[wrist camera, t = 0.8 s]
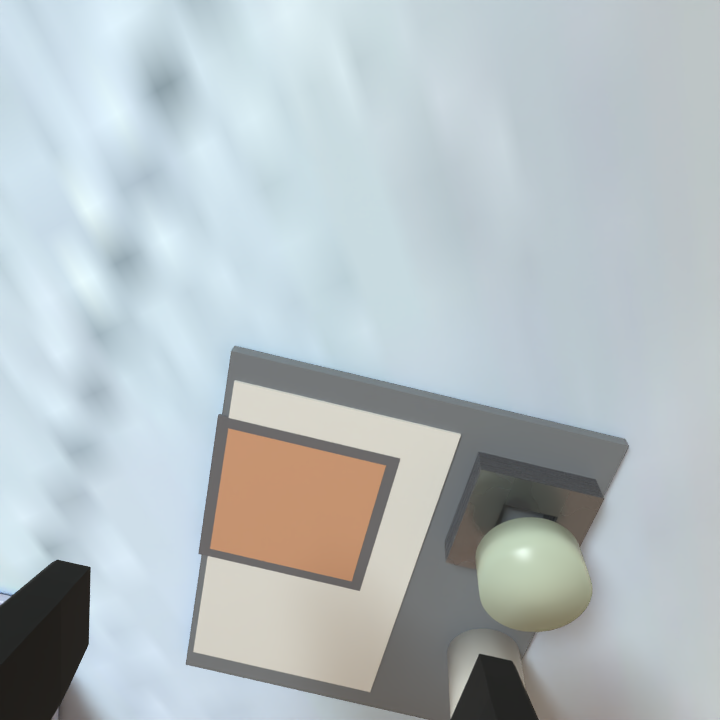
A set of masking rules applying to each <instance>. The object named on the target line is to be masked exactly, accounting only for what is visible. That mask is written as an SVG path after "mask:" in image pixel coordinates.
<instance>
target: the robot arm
mask: <svg viewBox="0 0 720 720" xmlns="http://www.w3.org/2000/svg"><path fill="white" fill-rule="evenodd" d="M89 607H90V567H88V566H83V565H79V564H74V563H70V562H65V561H61V560H56V561H54V562H52V563H51V564H50V565H48V566H47V567H46V568H45V569H44V570H42V571H41V572H40V573H39V574H38V575H36V576H35V577H34V578H33V579H32V580H30V581H29V582H28V583H27V584H26V585H24V586H23V587H22V588H21V589H20V590H18V591H17V592H16V593H15V594H13V595H12V596H8V595H4V594H0V720H58V709H59V705H60V704H61V702H62V700H63V698H64V696H65V694H66V692H67V689H68V687H69V685H70V683H71V681H72V679H73V677H74V675H75V673H76V671H77V668H78V666H79V664H80V662H81V660H82V657H83V655H84V653H85V651H86V649H87V647H88V644H89ZM450 720H539V719H538V717H537V715H536V713H535V710H534V708H533V706H532V704H531V701H530V699H529V697H528V694H527V692H526V690H525V687H524V685H523V683H522V680H521V678H520V676H519V673H518V671H517V669H516V666H515V665H514V663H513V662H512V661H511V660H506V659H502V658H497V657H493V656H488V655H484V654H479V655H478V658H477V660H476V662H475V665H474V667H473V669H472V671H471V674H470V676H469V678H468V681H467V683H466V685H465V687H464V690H463V692H462V694H461V697H460V699H459V701H458V703H457V706H456V708H455V710H454V713H453V715H452V717H451V719H450Z"/></svg>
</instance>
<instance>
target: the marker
mask: <svg viewBox="0 0 720 720" xmlns="http://www.w3.org/2000/svg"><path fill="white" fill-rule="evenodd" d="M479 654H484V655H488V656H493V657H497V658H502V659H506V660H511V661H512V662H513V663H514V665H515V666H516V669H517V671H518V673H519V676H520V678H521V680H522V683H523V685H524V687H525V681H524V675H523V670H522V664H521V658H520V652H519V648H518V646H517V644H516V643H515V641H514V640H513V639H512V638H511V637H509V636H508V635H506V634H504V633H502V632H500V631H496V630H492V629H473V630H469V631H466V632H464V633H461V634H460V635H458V636H457V637H455V638H454V639H453V640H452V641H451V643H450V645H449V647H448V650H447V659H448V678H449V698H450V717H452V715H453V713H454V710H455V708H456V706H457V703H458V701H459V699H460V697H461V694H462V692H463V690H464V687H465V685H466V683H467V681H468V678H469V676H470V674H471V671H472V669H473V667H474V665H475V662H476V660H477V658H478V655H479ZM525 690H526V687H525Z"/></svg>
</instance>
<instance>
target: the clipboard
mask: <svg viewBox="0 0 720 720" xmlns="http://www.w3.org/2000/svg"><path fill="white" fill-rule="evenodd" d="M628 447H629V445H628V443H627V441H626V440H625V439H623V438H618V437H614V436H610V435H606V434H602V433H598V432H593V431H589V430H585V429H581V428H577V427H572V426H568V425H564V424H560V423H556V422H551V421H547V420H543V419H539V418H535V417H531V416H526V415H522V414H518V413H514V412H510V411H505V410H501V409H497V408H493V407H489V406H484V405H480V404H476V403H472V402H468V401H464V400H459V399H455V398H451V397H447V396H443V395H438V394H434V393H430V392H426V391H422V390H418V389H413V388H409V387H405V386H401V385H397V384H392V383H388V382H384V381H380V380H376V379H371V378H367V377H363V376H359V375H355V374H351V373H346V372H342V371H338V370H334V369H330V368H325V367H321V366H317V365H313V364H309V363H304V362H300V361H296V360H292V359H288V358H284V357H279V356H275V355H271V354H267V353H263V352H258V351H254V350H250V349H246V348H242V347H238V346H234V348H233V349H232V351H231V357H230V364H229V370H228V377H227V384H226V391H225V398H224V405H223V412H222V414H219V415H218V420H217V427H216V435H215V442H214V449H213V456H212V463H211V470H210V477H209V484H208V491H207V498H206V505H205V512H204V519H203V526H202V533H201V540H200V547H199V554H202V556H201V563H200V570H199V577H198V584H197V591H196V598H195V605H194V611H193V618H192V625H191V632H190V639H189V646H188V653H187V660H186V665H190V666H195V667H199V668H204V669H208V670H212V671H217V672H221V673H226V674H230V675H234V676H239V677H243V678H248V679H252V680H256V681H261V682H265V683H270V684H274V685H278V686H283V687H287V688H292V689H296V690H300V691H305V692H309V693H314V694H318V695H322V696H327V697H331V698H336V699H340V700H344V701H349V702H353V703H358V704H362V705H366V706H371V707H375V708H380V709H384V710H388V711H393V712H397V713H402V714H406V715H410V716H415V717H419V718H424V719H428V720H450V719H451V717H450V698H449V678H448V659H447V650H448V647H449V645H450V643H451V641H452V640H453V639H454V638H455V637H457V636H458V635H460V634H461V633H464V632H466V631H469V630H473V629H492V630H496V631H500V632H502V633H504V634H506V635H508V636H509V637H511V638H512V639H513V640H514V641H515V643H516V644H517V646H518V648H519V652H520V658H521V660H522V658H523V656H524V654H525V652H526V650H527V648H528V646H529V644H530V642H531V640H532V638H533V636H534V634H535V632H526V631H519V630H515V629H512V628H509V627H506V626H504V625H502V624H500V623H498V622H497V621H495V620H494V619H493V618H492V617H491V616H490V615H489V614H488V613H487V612H486V611H485V609H484V607H483V606H482V603H481V600H480V595H479V587H478V578H477V570H476V569H471V568H467V567H463V566H459V565H454V564H450V563H446V560H445V540H446V537H447V534H448V532H449V529H450V526H451V524H452V521H453V518H454V515H455V513H456V510H457V507H458V505H459V502H460V499H461V497H462V494H463V491H464V489H465V486H466V483H467V481H468V478H469V475H470V473H471V470H472V467H473V465H474V462H475V459H476V457H477V454H478V452H482V453H487V454H491V455H495V456H499V457H503V458H508V459H512V460H516V461H520V462H525V463H529V464H533V465H537V466H541V467H546V468H550V469H554V470H558V471H563V472H567V473H571V474H575V475H579V476H584V477H588V478H592V479H596V481H597V483H598V485H599V488H600V490H601V492H602V495H603V497H604V495H605V493H606V491H607V489H608V487H609V485H610V483H611V481H612V479H613V477H614V475H615V473H616V471H617V469H618V467H619V465H620V463H621V461H622V459H623V457H624V455H625V453H626V451H627V449H628ZM543 516H544V514H542V513H538V512H534V511H529V510H525V509H521V508H517V507H512V506H508V505H503V508H502V510H501V513H500V515H499V518H498V520H497V522H496V525H495V527H496V526H497V525H499V524H501V523H503V522H506V521H509V520H512V519H516V518H523V517H536V518H543Z"/></svg>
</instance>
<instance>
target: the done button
mask: <svg viewBox="0 0 720 720" xmlns="http://www.w3.org/2000/svg"><path fill="white" fill-rule="evenodd" d="M475 559H476V570H477V578H478V587H479V595H480V600H481V603H482V606H483V607H484V609H485V611H486V612H487V613H488V614H489V615H490V616H491V617H492V618H493V619H494V620H495V621H497V622H498V623H500V624H502V625H504V626H506V627H509V628H512V629H515V630H519V631H526V632H542V631H549V630H553V629H557V628H560V627H562V626H565V625H567V624H569V623H570V622H572V621H573V620H575V619H576V618H578V617H579V616H580V615H581V614H582V613H583V612H584V610H585V609H586V608H587V606H588V604H589V602H590V600H591V596H592V583H591V580H590V577H589V574H588V571H587V568H586V565H585V562H584V559H583V556H582V553H581V550H580V547H579V544H578V542H577V540H576V538H575V537H574V536H573V534H572V533H571V532H570V531H569V530H567V529H566V528H565V527H563V526H562V525H560V524H558V523H556V522H554V521H551V520H547V519H543V518H536V517H523V518H516V519H512V520H509V521H506V522H503V523H501V524H499V525H497V526H496V527H494V528H492V529H491V530H490V531H489V532H488V533H487V534H486V535H485V536H484V537H483V538H482V540H481V541H480V543H479V545H478V547H477V550H476V556H475Z"/></svg>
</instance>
